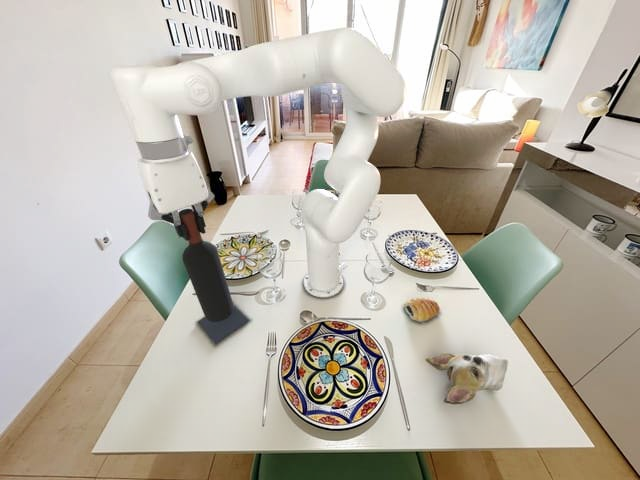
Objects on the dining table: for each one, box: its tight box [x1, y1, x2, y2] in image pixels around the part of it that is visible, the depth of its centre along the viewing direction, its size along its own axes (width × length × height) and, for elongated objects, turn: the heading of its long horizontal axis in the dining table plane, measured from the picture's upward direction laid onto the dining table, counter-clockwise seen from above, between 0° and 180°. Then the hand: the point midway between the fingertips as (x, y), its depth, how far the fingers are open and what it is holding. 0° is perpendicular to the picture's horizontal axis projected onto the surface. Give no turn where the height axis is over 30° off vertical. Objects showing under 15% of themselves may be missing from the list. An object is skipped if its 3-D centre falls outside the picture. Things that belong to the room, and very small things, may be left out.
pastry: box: [403, 297, 440, 323], centre depth 75 cm, size 9×7×4 cm
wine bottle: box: [178, 208, 235, 322], centre depth 63 cm, size 8×8×30 cm
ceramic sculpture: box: [424, 353, 509, 405], centre depth 57 cm, size 11×9×15 cm
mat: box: [197, 305, 250, 345], centre depth 74 cm, size 10×10×1 cm
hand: (193, 233), depth 58 cm, fingers closed on wine bottle, 2 cm apart
